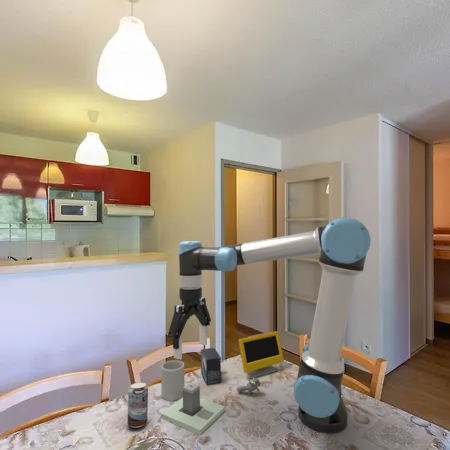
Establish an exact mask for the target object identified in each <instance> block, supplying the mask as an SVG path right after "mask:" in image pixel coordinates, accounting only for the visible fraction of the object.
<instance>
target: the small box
mask: <svg viewBox="0 0 450 450" xmlns="http://www.w3.org/2000/svg"><path fill="white" fill-rule="evenodd" d="M221 363H222V357H221V356H220V354H219V353H218V351H217V349H216V348H215V347H211V348H210V347H209V348H204V349H203V348H202V349H200V374H201V376H202V379H203V380H204V383H205V384H206V386H212V385H213V386H214V385H218V384H222V364H221Z"/></svg>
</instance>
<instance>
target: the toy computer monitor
mask: <svg viewBox="0 0 450 450" xmlns="http://www.w3.org/2000/svg"><path fill="white" fill-rule="evenodd" d="M238 345H239V346H238V347H239V350H240V351H239V352H240V356H241V361H242V362H241V363H242V364H241V365H242V369H243V373H245V374H248V376H249V377H250V378H251V379H253V377H254V378H258V377H262V376H265V375H269V374H272V373H275V372H278V371H279V369H278V367H275V366H276V365H279V364H282V363H285V360H284V354H283V350H282V345H281V340H280V336H279V331H278V330H277V331H271V332H267V331H266V332H263V333H258V334H255V335H254V334H253V335H249V336H248V337H243V338H240V339H238ZM274 365H275V366H274Z"/></svg>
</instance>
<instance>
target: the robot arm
mask: <svg viewBox="0 0 450 450" xmlns="http://www.w3.org/2000/svg"><path fill="white" fill-rule="evenodd" d="M370 235H371V234H370V232H369V230H368V228H367V226H366V225H364V223H362V221H359V220H358V219H356V218H352V217H339V218H335V219H333V220H331V221H330V222H329V223H328V224H327V225H324V226H319V227H316V228H315V230H311V231H307V232H301V233H295V234H291V235H290V234H289V235H285V236H284V235H283V236H278V237H273V238H272V237H271V238H267V239H266V238H265V239H260V240H255V241H250V242H249V241H248V242H243V243H238V244H231V245H225V246H217V247H213V246H212V247H210V246H209V247H204V246H203V245H202V242H201V241H200V240H194V241H193V240H191V241H190V240H189V241H188V240H186V241H181V242H180V243H179V247H178V265H179V266H178V268H179V289H178V291H179V293H178V294H179V299H180V301H181V305H177V304H175V305H174V310H173V315H172V318H171V323H170V326H169V330H168V333H167V337H168V338H170V339H172V348H173V358H174V359H176V360H179V361H181V360H182V358H183V341H182V340H183V338H182V337H181V335H182V333H183V331H184V328H185V326H186V324H187V321H188V320H189V319H190V318H191V317H192V316H195V317H196V319H197V320H198V321H199V323H200V325H198V326H199V331H198V332H199V333H198V334H199V345H204V346H207V345H208V327H209V326H211V323H210V322H211V321H212V319H211V315H210V313H209V312H210V311H209V310H208V306H207V303H206V302H207V301H206V300H207V299H206V298H205V297H203V288H202V286H203V277H202V275H203V274H202V271H217V272H218V271H219V272H224V273H225V272H232V271H234V270H235V269H236V267H237V266H244V265H245V266H246V265H249V264H257V263H265V262H271V261H279V260H287V259H292V258H299V257H305V256H314V255H319V257H318V264H319V265H320V267H321V268H322V274H321V280H320V284H319V290H318V295H317V301H316V306H315V311H314V317H313V321H312V326H311V332H310V339H309V343H307V344H304V345H303V347H302V354H301V355H300V361H299V367H298V372H297V377H296V380H295V382H294V384H293V396H294V399H295V402H296V403H297V405H298V419H299V420H300V422H301V423H302V424H304V425H305V426H306V427H307V428H309V429H311V430H314V431H316V432H320V433H325V434H326V433H327V434H331V433H332V434H333V433H340V432H342V431H344V430H345V429H346V428H347V426H348V424H349V423H348V419H349V418H348V412H347V409H346V407H345V403H344V400H343V397H342V381H343V377H344V376H343V375H344V372H345V366H344V364H343V362H341V361H342V355H341V354H342V352H343V351H342V349H343V345H344V340H345V335H346V330H347V325H348V320H349V319H348V318H349V313H350V309H351V304H352V299H353V293H354V288H355V284H356V283H355V282H356V277H357V276H358V275H360V274H362V273H363V272H364V268H365V263H366V259H367V253H369V252H368V251H369V249H370V247H371V236H370Z"/></svg>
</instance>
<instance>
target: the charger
mask: <svg viewBox="0 0 450 450" xmlns="http://www.w3.org/2000/svg"><path fill="white" fill-rule="evenodd" d="M200 398H201V386H200V384H197V383H194V382H189V383H187V384H185V385H184V387H183V412H182V413H185V414H187V415H190V416H192V417H193V416H194V415H195V414H196V413H197V412H199V411H200Z"/></svg>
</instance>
